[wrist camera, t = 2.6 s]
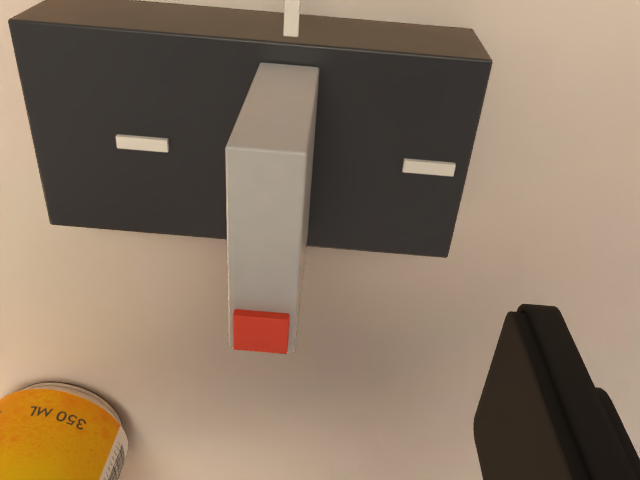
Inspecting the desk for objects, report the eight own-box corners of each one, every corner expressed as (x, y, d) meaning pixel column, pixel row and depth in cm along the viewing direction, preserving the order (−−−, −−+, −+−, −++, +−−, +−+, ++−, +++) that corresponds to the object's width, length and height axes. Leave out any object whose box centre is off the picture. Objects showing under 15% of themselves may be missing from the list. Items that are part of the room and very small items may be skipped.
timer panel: (486, -32, 17) (510, -7, 14) (428, 246, 22) (438, 303, 19) (46, -69, 16) (-12, -52, 14) (92, 218, 22) (56, 271, 19)
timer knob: (259, 61, 15) (221, 152, 11) (320, 66, 15) (306, 158, 11) (257, 229, 18) (226, 355, 14) (307, 233, 18) (293, 361, 14)
